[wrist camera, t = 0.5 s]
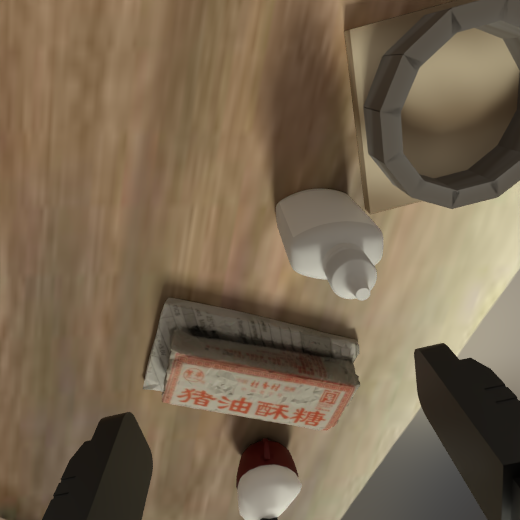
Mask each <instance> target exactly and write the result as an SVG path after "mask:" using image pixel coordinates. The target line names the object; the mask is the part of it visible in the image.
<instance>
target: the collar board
mask: <svg viewBox="0 0 520 520" xmlns="http://www.w3.org/2000/svg"><path fill="white" fill-rule="evenodd" d="M344 34H345V42H346V51H347V59H348V68H349V76H350V85H351V93H352V102H353V110H354V119H355V127H356V136H357V144H358V153H359V161H360V169H361V178H362V186H363V195H364V203H365V209H366V210H367V211H368V212H369V213H370V214H374V213H378V212H382V211H385V210H389V209H393V208H397V207H401V206H405V205H409V204H413V203H417V202H421V201H426V202H429V203H433V204H436V205H440V206H443V207H447V208H450V209H454V208H457V207H461V206H465V205H469V204H473V203H477V202H481V201H485V200H489V199H493V198H497V197H499V196H500V195H501V194H503V193H504V192H505V191H507V190H508V189H509V188H510V187H512V186H513V185H514V184H516V183H517V182H518V181H519V180H520V0H456V1H452V2H449V3H445V4H441V5H438V6H434V7H430V8H427V9H423V10H420V11H416V12H412V13H409V14H405V15H401V16H398V17H394V18H390V19H387V20H383V21H380V22H376V23H372V24H369V25H365V26H361V27H358V28H354V29H350V30H347V31H344Z"/></svg>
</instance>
